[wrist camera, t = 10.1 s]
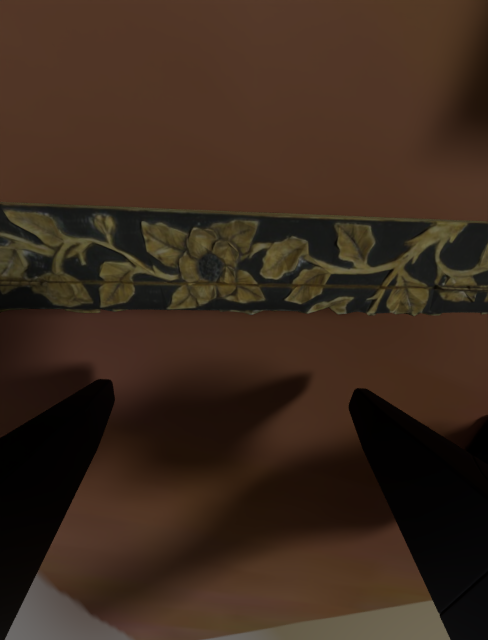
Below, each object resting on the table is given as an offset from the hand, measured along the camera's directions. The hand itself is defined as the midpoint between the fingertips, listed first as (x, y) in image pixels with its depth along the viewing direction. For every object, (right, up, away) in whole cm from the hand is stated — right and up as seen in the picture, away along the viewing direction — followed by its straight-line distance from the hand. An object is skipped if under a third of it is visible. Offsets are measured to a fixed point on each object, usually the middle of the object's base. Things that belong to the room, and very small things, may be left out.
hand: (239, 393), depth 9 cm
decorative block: (0, +5, 0) cm, 5 cm away
